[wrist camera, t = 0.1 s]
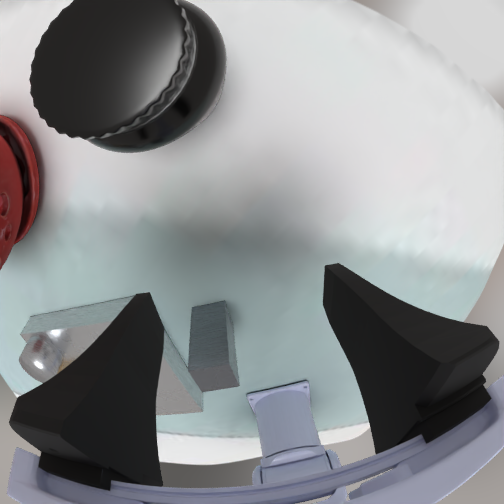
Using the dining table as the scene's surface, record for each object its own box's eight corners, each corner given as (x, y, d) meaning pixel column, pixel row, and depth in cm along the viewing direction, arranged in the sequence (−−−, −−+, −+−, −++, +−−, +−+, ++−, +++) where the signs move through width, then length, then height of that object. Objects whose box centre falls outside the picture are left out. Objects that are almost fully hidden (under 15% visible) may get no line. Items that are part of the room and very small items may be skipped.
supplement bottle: (106, 82, 14) (-17, 69, 3) (189, 24, 13) (156, -78, 2) (157, 155, 17) (75, 223, 6) (243, 99, 16) (287, 73, 5)
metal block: (233, 324, 25) (239, 386, 19) (202, 330, 25) (201, 391, 19) (224, 300, 23) (229, 364, 17) (192, 307, 23) (187, 370, 17)
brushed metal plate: (202, 391, 30) (203, 433, 25) (99, 398, 30) (92, 432, 25) (145, 293, 22) (130, 344, 17) (30, 316, 22) (9, 353, 17)
